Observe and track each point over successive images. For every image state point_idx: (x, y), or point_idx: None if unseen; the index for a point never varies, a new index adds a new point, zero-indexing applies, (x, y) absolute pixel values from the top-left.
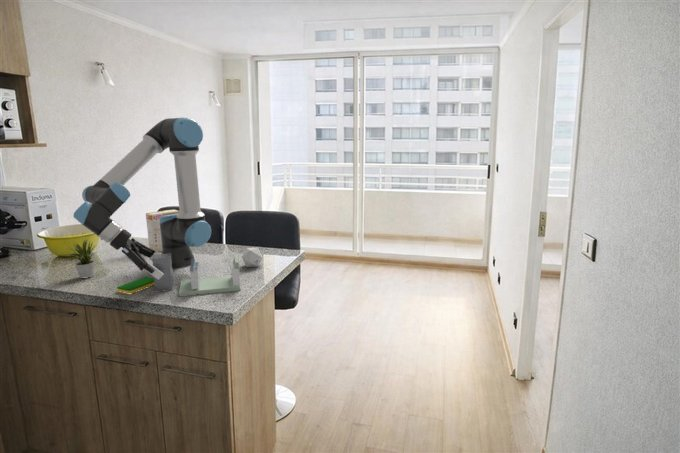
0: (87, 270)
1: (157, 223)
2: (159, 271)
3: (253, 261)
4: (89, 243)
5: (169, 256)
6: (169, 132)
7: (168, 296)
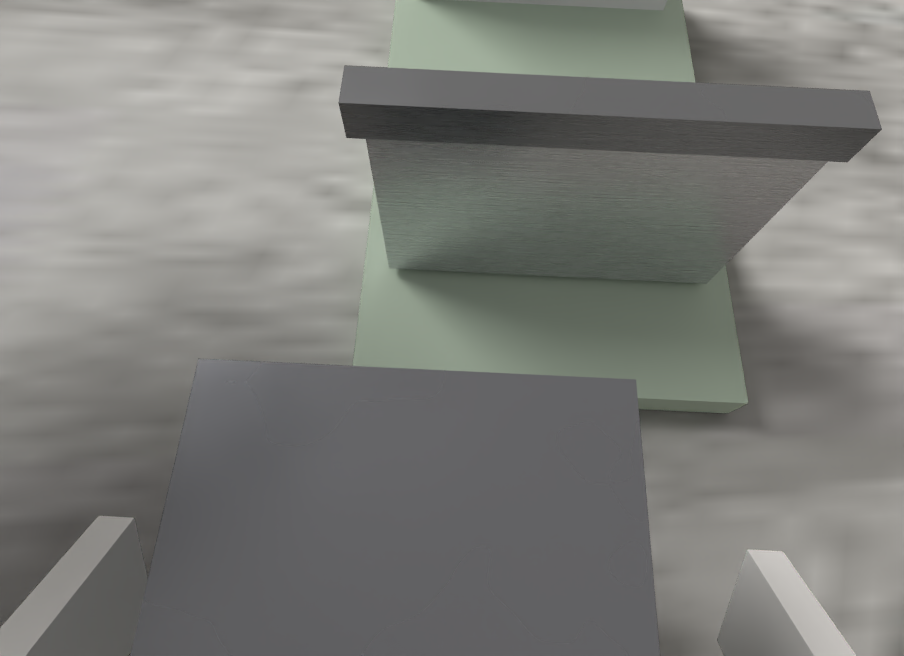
0: None
1: None
2: (836, 628)
3: None
4: None
5: (541, 377)
6: None
7: (706, 517)
